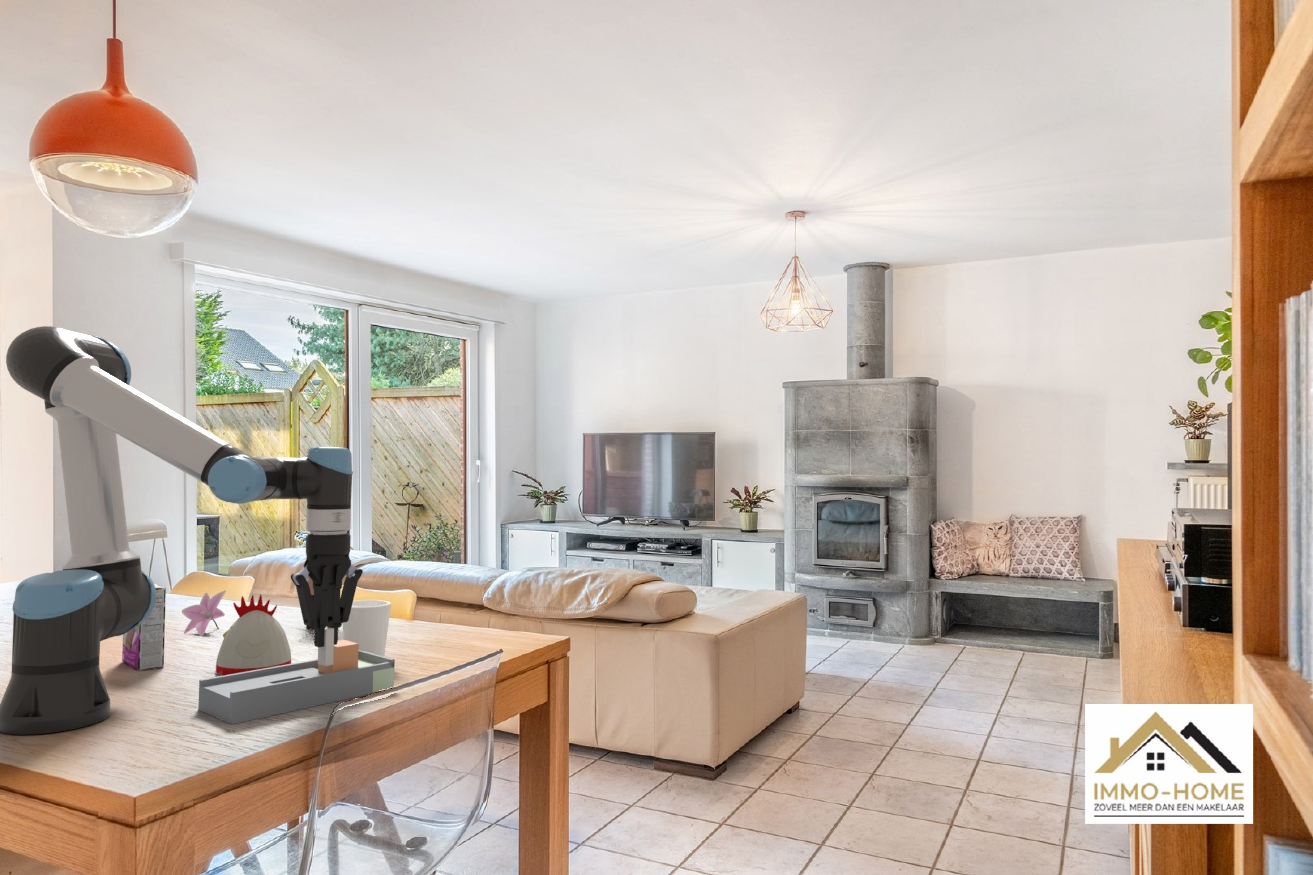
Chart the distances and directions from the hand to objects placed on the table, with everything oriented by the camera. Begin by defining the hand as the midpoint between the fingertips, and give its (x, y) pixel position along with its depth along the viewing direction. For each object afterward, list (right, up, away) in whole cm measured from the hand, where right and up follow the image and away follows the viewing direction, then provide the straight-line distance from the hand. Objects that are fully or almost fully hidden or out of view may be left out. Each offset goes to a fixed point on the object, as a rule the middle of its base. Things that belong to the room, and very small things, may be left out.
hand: (325, 664), depth 154 cm
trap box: (-4, -6, -1) cm, 7 cm away
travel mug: (-26, -8, +65) cm, 71 cm away
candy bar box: (-46, -6, +22) cm, 51 cm away
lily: (-51, -7, +56) cm, 77 cm away
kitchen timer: (-23, -7, +21) cm, 31 cm away
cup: (-2, -7, +26) cm, 27 cm away
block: (+1, -2, +3) cm, 4 cm away
